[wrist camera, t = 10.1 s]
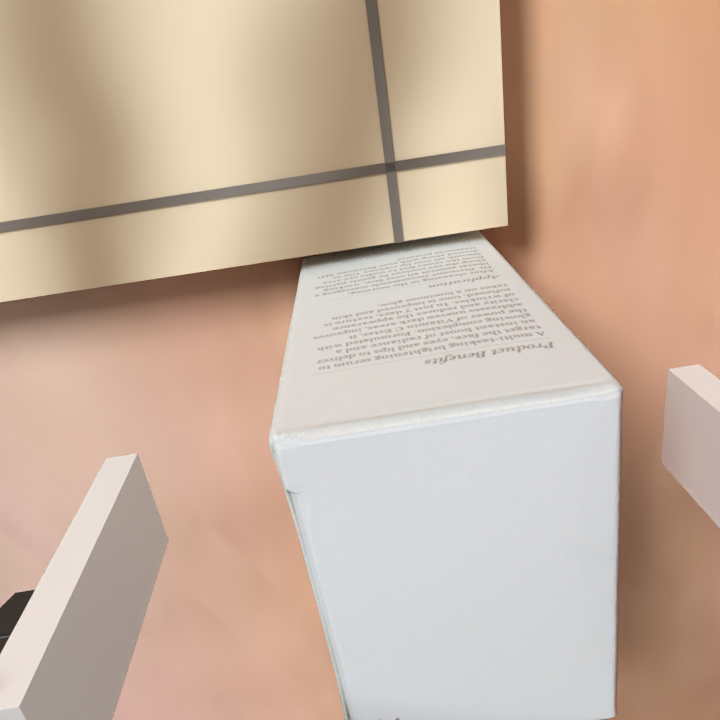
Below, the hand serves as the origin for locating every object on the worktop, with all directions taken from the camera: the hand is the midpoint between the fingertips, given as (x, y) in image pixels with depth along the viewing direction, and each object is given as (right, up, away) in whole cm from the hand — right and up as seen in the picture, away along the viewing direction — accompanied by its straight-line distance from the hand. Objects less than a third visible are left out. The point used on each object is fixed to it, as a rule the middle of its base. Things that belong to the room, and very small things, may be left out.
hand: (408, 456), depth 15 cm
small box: (0, +3, +5) cm, 6 cm away
